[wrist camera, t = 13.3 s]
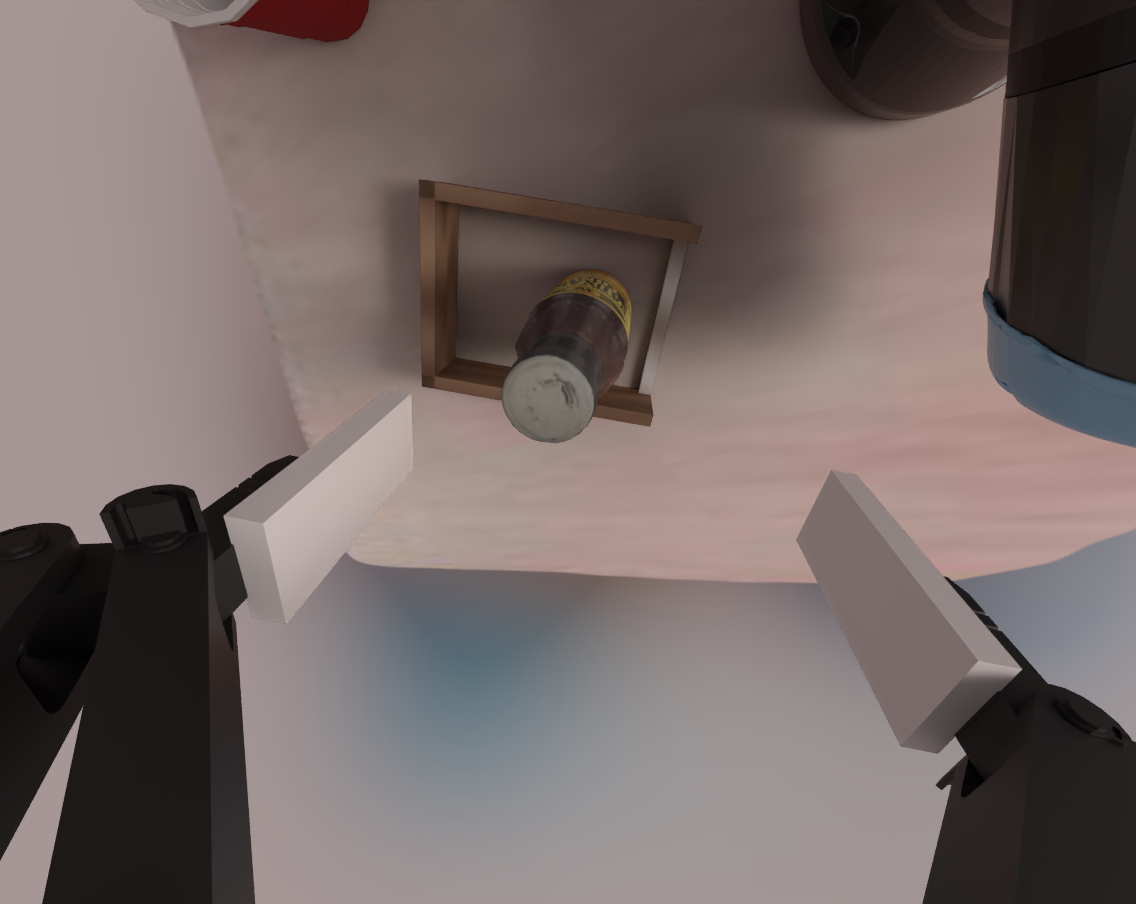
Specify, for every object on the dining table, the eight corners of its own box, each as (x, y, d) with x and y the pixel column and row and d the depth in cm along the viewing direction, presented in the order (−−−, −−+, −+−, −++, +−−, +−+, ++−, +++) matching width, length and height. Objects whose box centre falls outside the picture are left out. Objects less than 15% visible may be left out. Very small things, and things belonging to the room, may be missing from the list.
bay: (446, 182, 33) (419, 179, 29) (691, 223, 33) (701, 225, 28) (443, 366, 40) (422, 386, 36) (647, 402, 39) (650, 426, 35)
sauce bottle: (639, 274, 35) (656, 344, 17) (621, 353, 38) (620, 481, 20) (555, 258, 35) (487, 312, 17) (543, 338, 38) (477, 452, 20)
